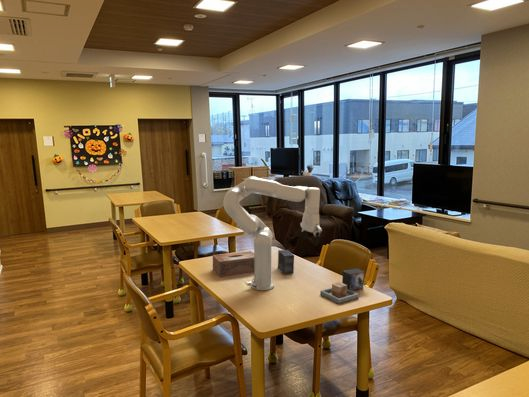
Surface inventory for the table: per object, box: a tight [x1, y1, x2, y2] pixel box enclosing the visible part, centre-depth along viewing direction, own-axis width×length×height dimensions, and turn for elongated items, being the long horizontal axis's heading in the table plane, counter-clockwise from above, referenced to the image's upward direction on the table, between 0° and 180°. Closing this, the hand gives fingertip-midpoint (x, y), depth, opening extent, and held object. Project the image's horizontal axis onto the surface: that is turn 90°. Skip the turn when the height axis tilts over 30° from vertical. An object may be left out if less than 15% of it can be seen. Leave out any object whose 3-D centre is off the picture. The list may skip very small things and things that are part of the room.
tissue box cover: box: [212, 250, 254, 278], centre depth 241 cm, size 26×14×10 cm, turn 114°
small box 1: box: [277, 249, 295, 275], centre depth 242 cm, size 13×7×12 cm, turn 14°
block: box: [331, 281, 347, 298], centre depth 202 cm, size 6×6×6 cm
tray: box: [319, 287, 359, 305], centre depth 203 cm, size 14×14×2 cm
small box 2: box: [341, 268, 365, 292], centre depth 213 cm, size 11×6×10 cm, turn 117°
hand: (309, 241), depth 209 cm, fingers open, 9 cm apart
